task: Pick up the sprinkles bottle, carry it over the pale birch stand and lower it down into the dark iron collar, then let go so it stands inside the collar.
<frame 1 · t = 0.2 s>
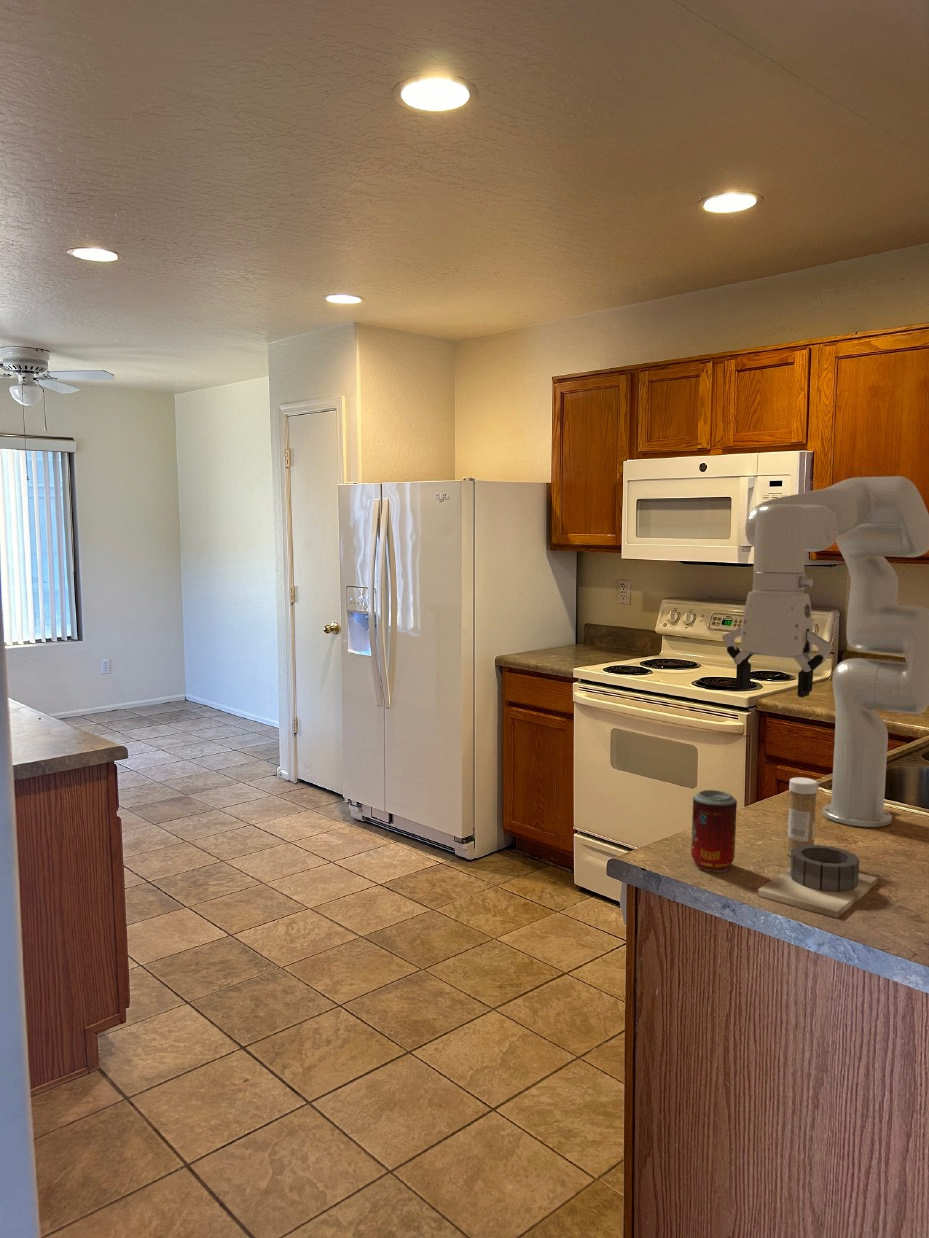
hand: (773, 692, 144), 31 cm above the table, tool pointing down, fingers open, 9 cm apart
soda can: (712, 866, 153), on the table
sprinkles bottle: (799, 856, 158), on the table
collar stand: (818, 889, 143), on the table
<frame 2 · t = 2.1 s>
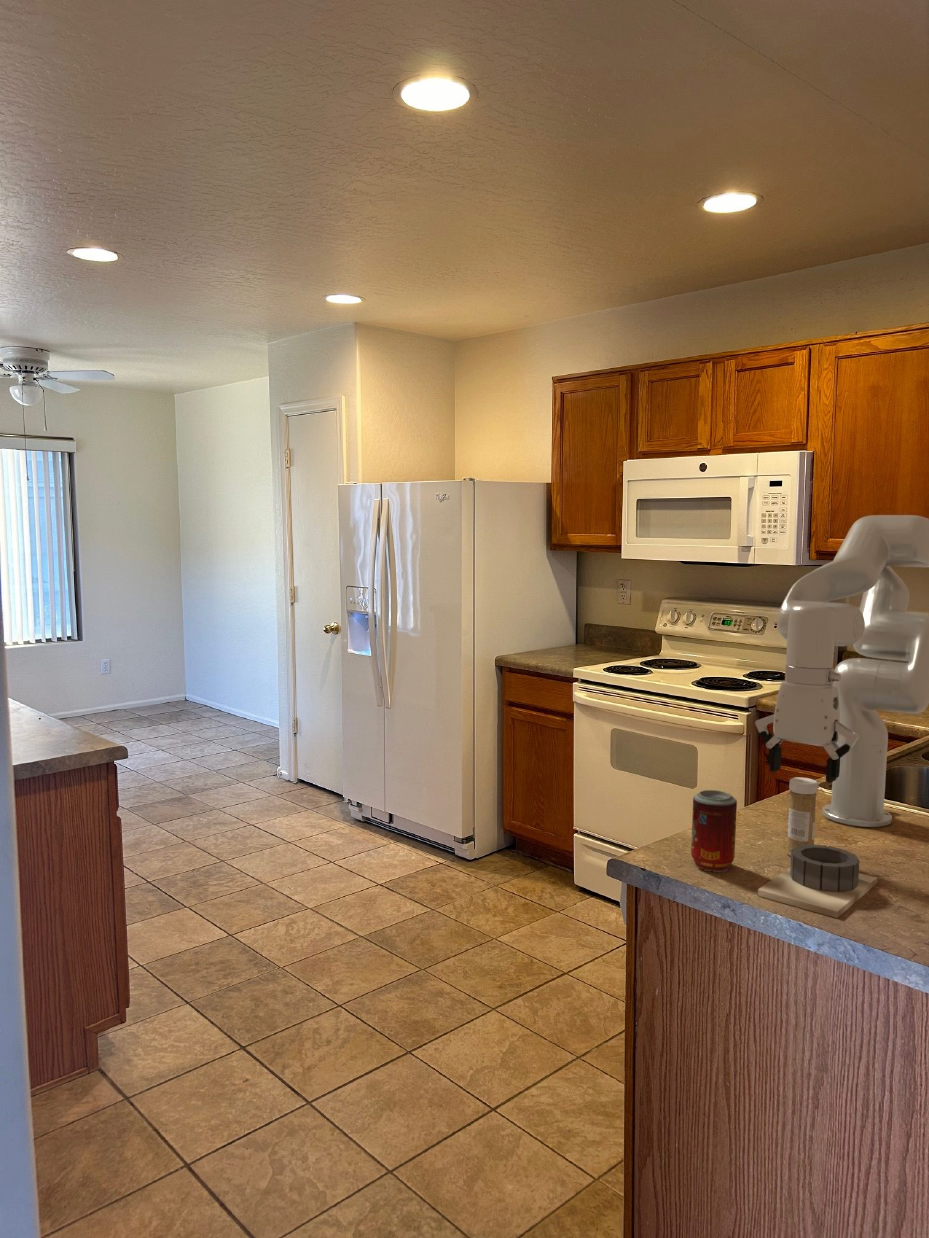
hand: (802, 775, 156), 14 cm above the table, tool pointing down, fingers open, 9 cm apart
nothing on the table moved.
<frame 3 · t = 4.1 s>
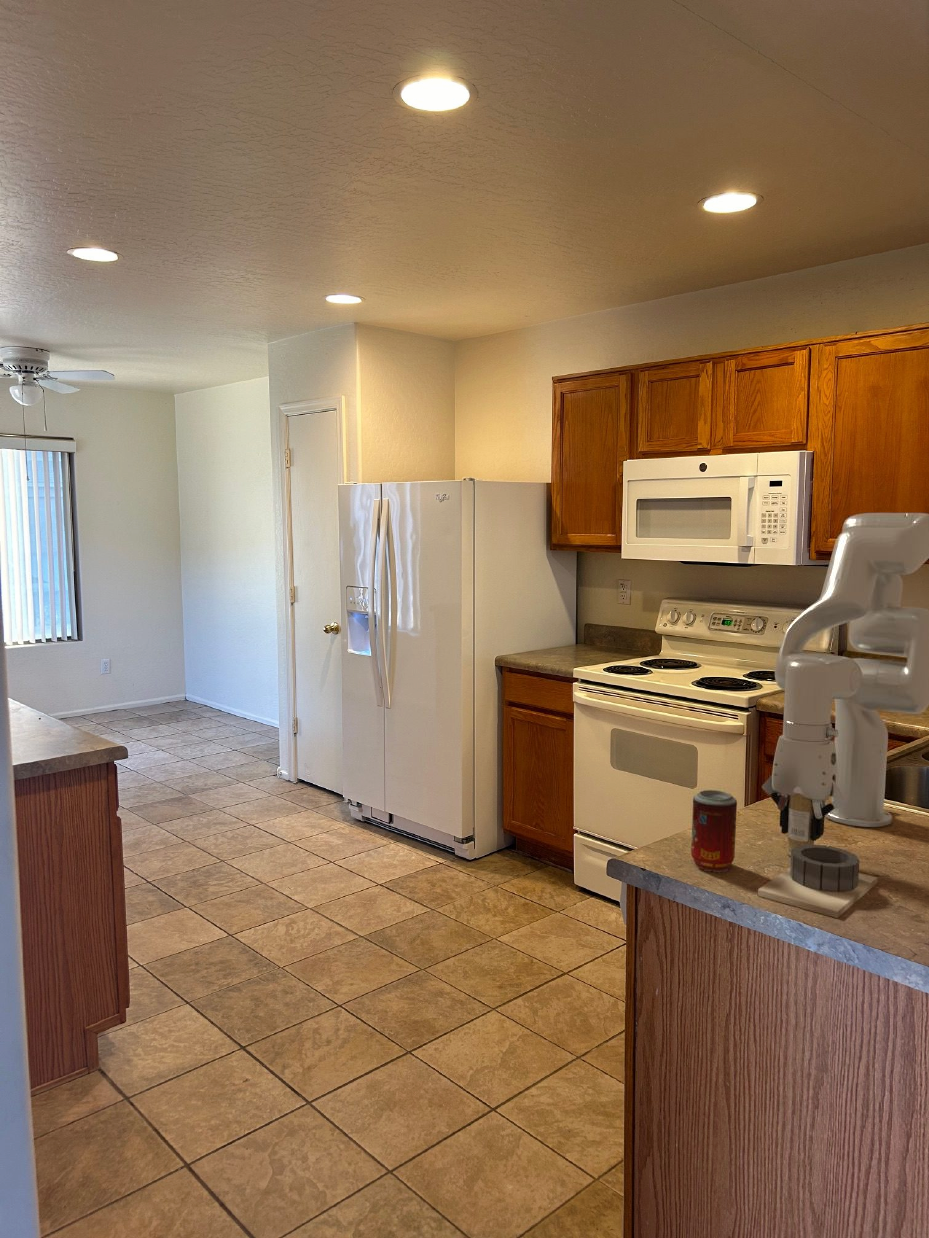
hand: (801, 834, 157), 4 cm above the table, tool pointing down, fingers closed on sprinkles bottle, 4 cm apart
sprinkles bottle: (799, 856, 158), on the table, touching gripper
everything else where it was.
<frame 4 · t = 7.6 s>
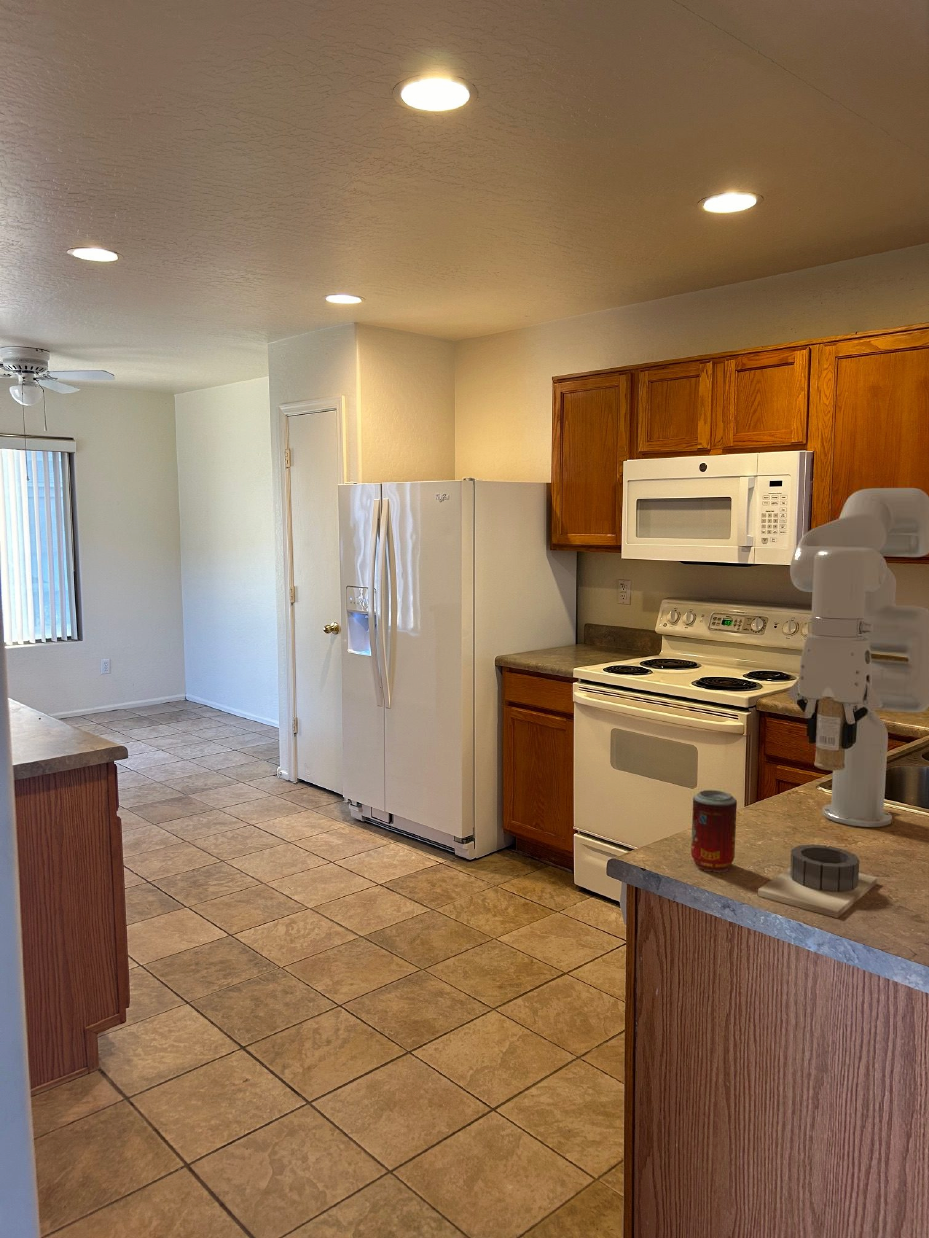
hand: (830, 743, 142), 23 cm above the table, tool pointing down, fingers closed on sprinkles bottle, 4 cm apart
sprinkles bottle: (829, 768, 143), point 19 cm above the table, touching gripper
everything else where it was.
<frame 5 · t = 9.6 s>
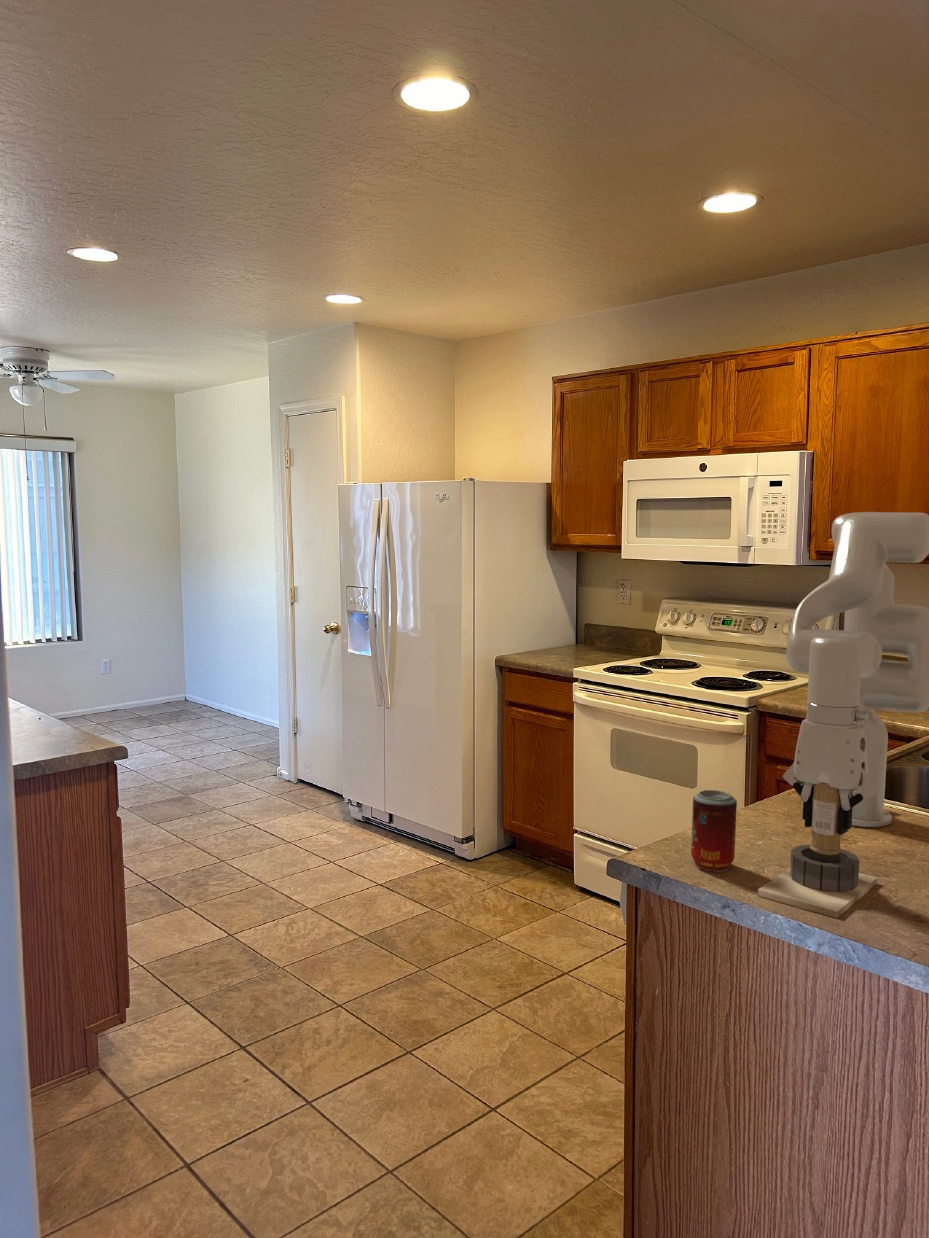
hand: (826, 827, 144), 9 cm above the table, tool pointing down, fingers closed on sprinkles bottle, 4 cm apart
sprinkles bottle: (824, 852, 144), point 5 cm above the table, touching gripper
everything else where it was.
when the fingers open (6 cm above the table, at t = 11.1 s): sprinkles bottle drops 1 cm, resting on collar stand.
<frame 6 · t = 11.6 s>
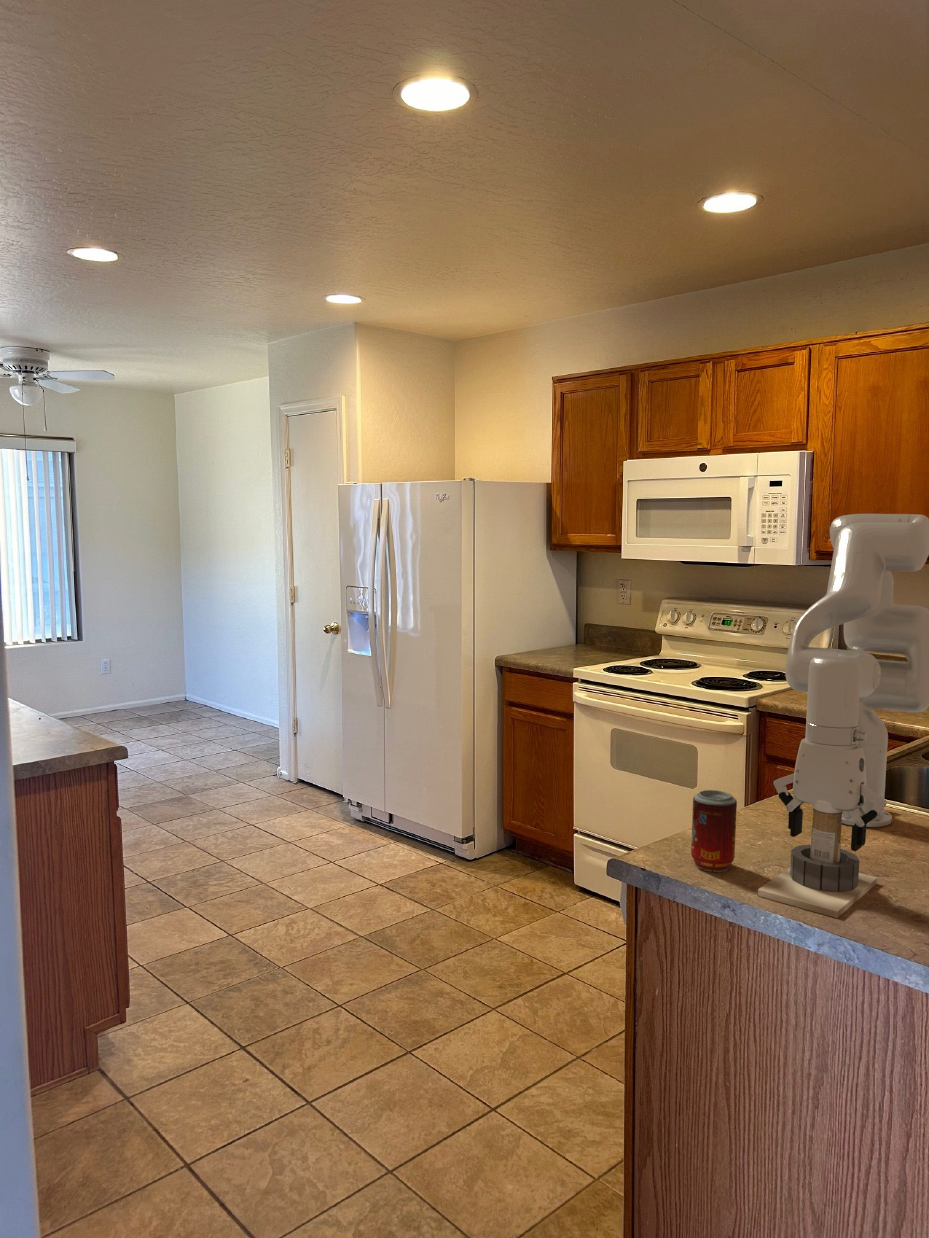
hand: (825, 841, 144), 7 cm above the table, tool pointing down, fingers open, 9 cm apart
sprinkles bottle: (823, 880, 144), point 1 cm above the table, touching collar stand
everything else where it was.
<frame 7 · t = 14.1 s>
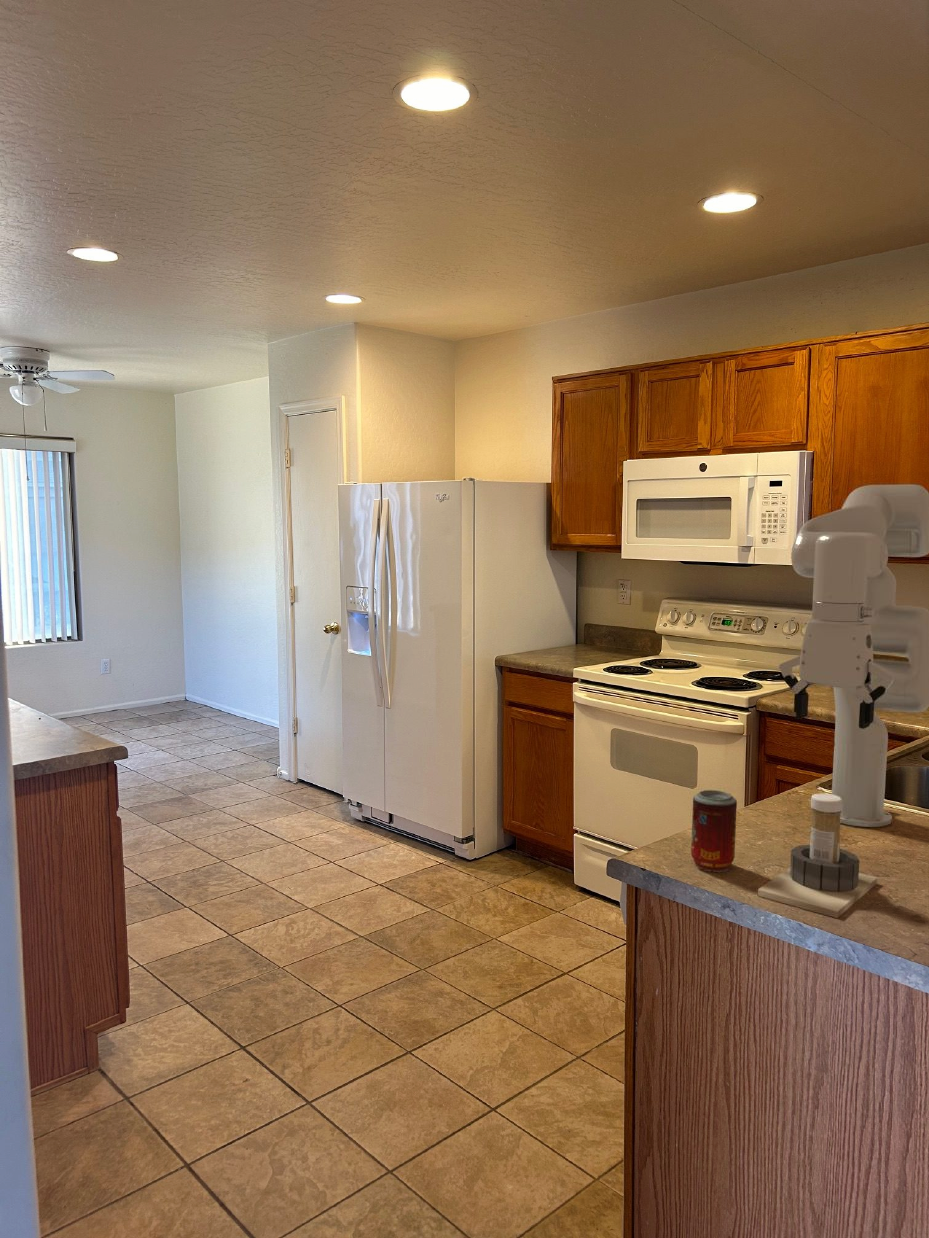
hand: (832, 722, 142), 26 cm above the table, tool pointing down, fingers open, 9 cm apart
nothing on the table moved.
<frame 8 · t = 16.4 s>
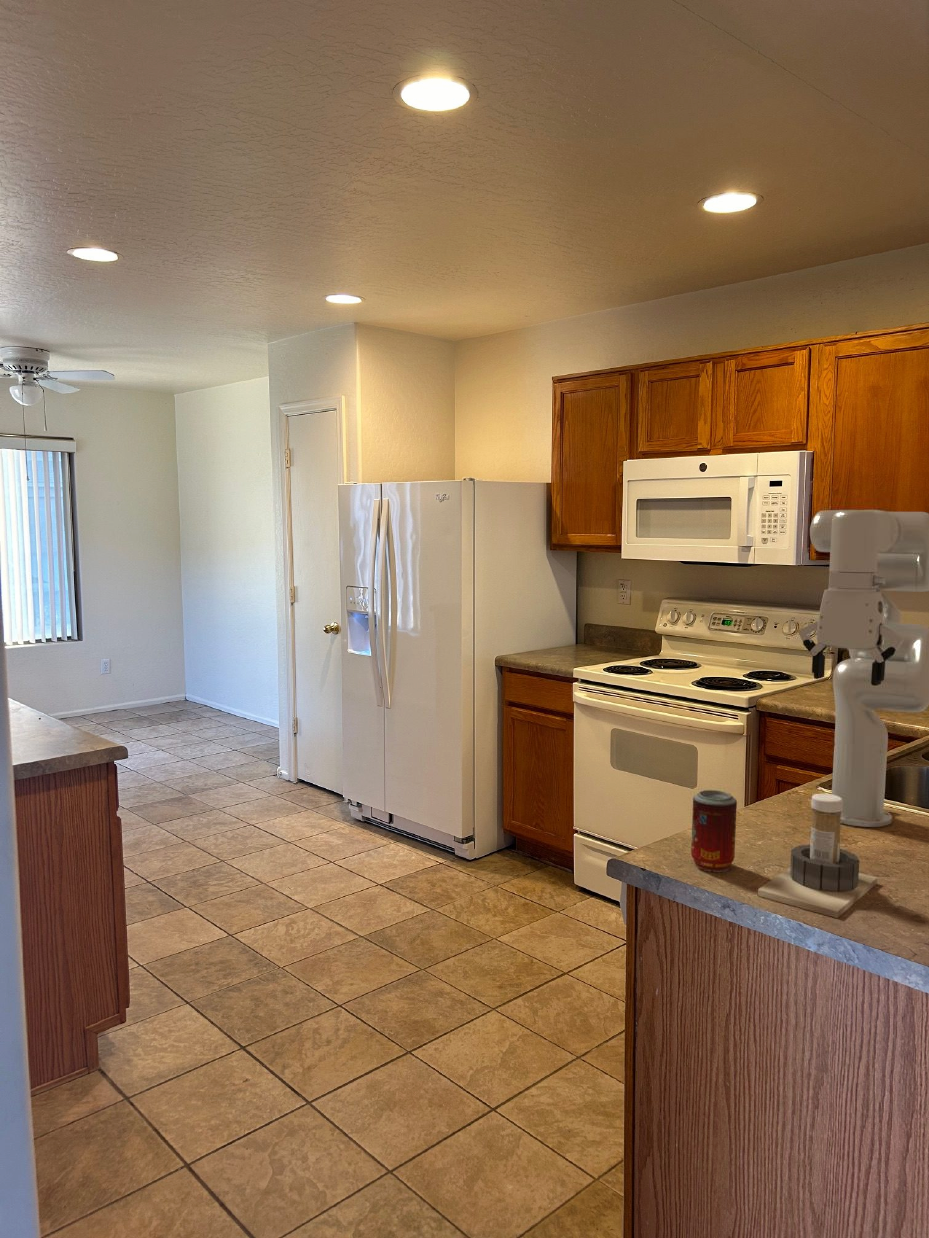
hand: (846, 681, 158), 30 cm above the table, tool pointing down, fingers open, 9 cm apart
nothing on the table moved.
at the end: sprinkles bottle 0.2 cm from the target spot on the collar stand, point 0.8 cm above the collar stand's base; sprinkles bottle tilted 0°; the gripper is holding nothing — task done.
